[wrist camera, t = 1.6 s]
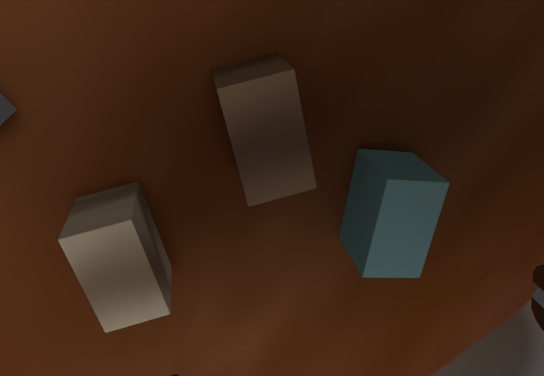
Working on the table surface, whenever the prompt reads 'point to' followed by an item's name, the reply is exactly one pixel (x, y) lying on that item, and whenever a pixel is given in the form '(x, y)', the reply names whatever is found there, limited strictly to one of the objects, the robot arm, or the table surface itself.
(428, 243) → the teal block
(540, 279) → the robot arm
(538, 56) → the table surface
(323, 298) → the table surface
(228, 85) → the walnut block
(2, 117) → the grey block
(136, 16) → the table surface
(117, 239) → the maple block
